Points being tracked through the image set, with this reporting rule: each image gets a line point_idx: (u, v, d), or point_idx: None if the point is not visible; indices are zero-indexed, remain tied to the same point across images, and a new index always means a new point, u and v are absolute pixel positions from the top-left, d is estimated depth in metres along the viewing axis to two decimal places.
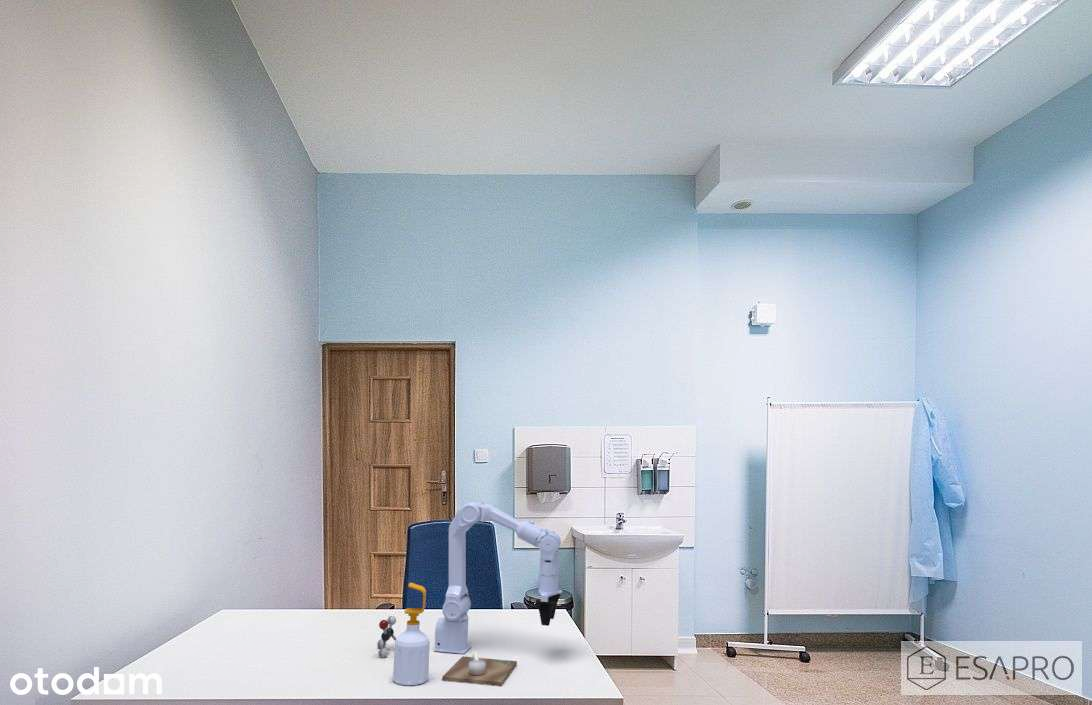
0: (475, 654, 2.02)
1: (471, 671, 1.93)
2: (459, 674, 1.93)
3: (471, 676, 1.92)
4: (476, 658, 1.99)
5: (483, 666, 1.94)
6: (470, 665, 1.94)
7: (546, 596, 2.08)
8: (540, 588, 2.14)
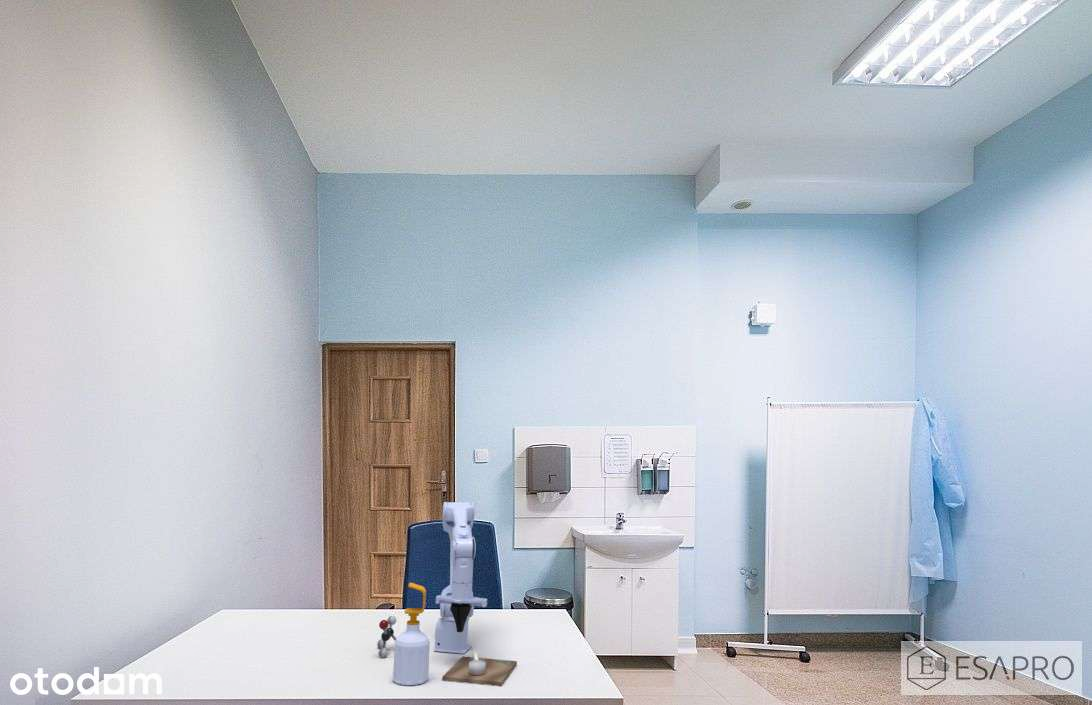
0: (475, 654, 2.02)
1: (471, 671, 1.93)
2: (459, 674, 1.93)
3: (471, 676, 1.92)
4: (476, 658, 1.99)
5: (483, 666, 1.94)
6: (470, 665, 1.94)
7: None
8: None
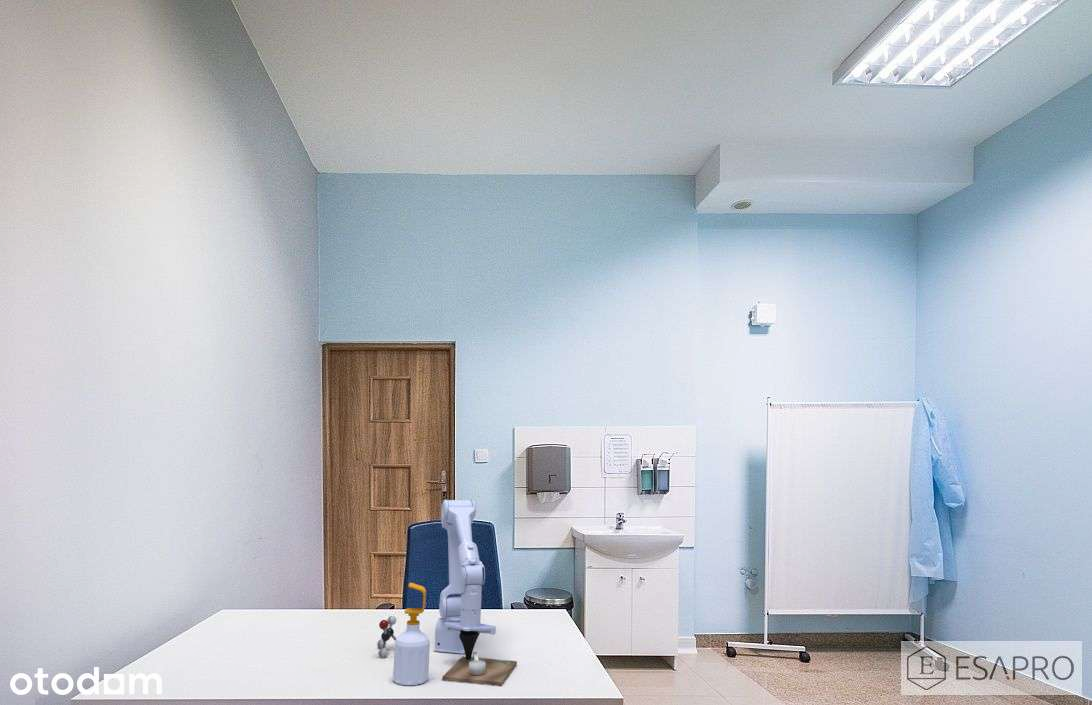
0: (475, 654, 2.02)
1: (471, 671, 1.93)
2: (459, 674, 1.93)
3: (471, 676, 1.92)
4: (476, 658, 1.99)
5: (483, 666, 1.94)
6: (470, 665, 1.94)
7: None
8: None
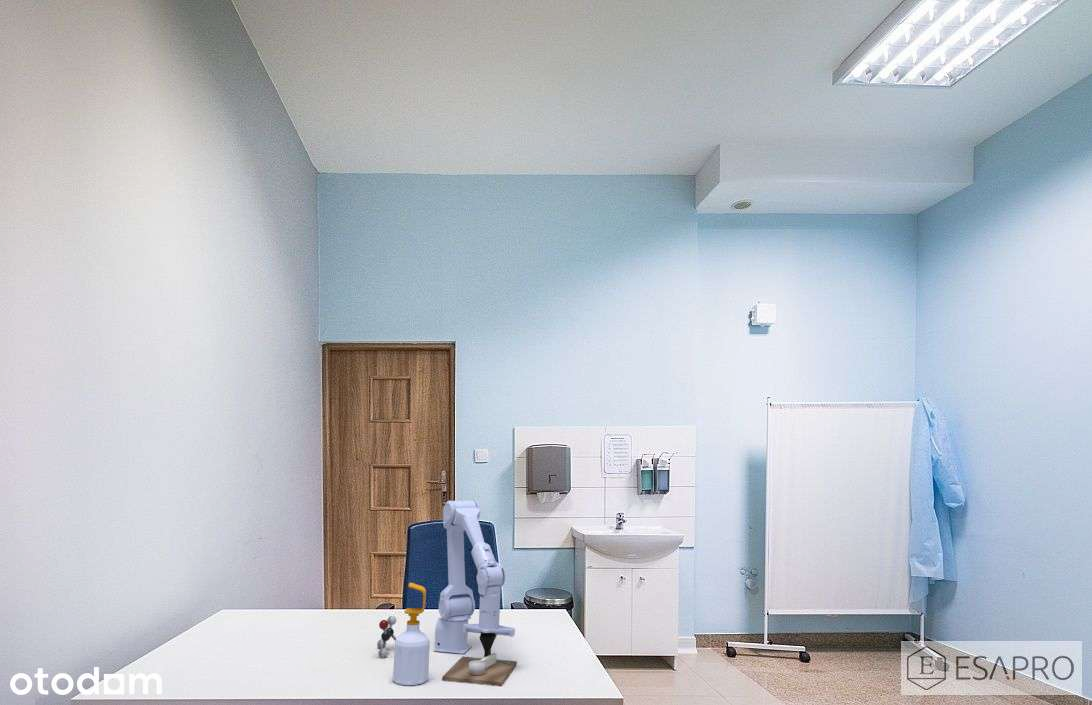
0: (490, 655, 2.02)
1: (469, 670, 1.94)
2: (459, 674, 1.93)
3: (471, 676, 1.92)
4: (484, 659, 1.98)
5: (479, 667, 1.93)
6: (469, 664, 1.95)
7: None
8: None
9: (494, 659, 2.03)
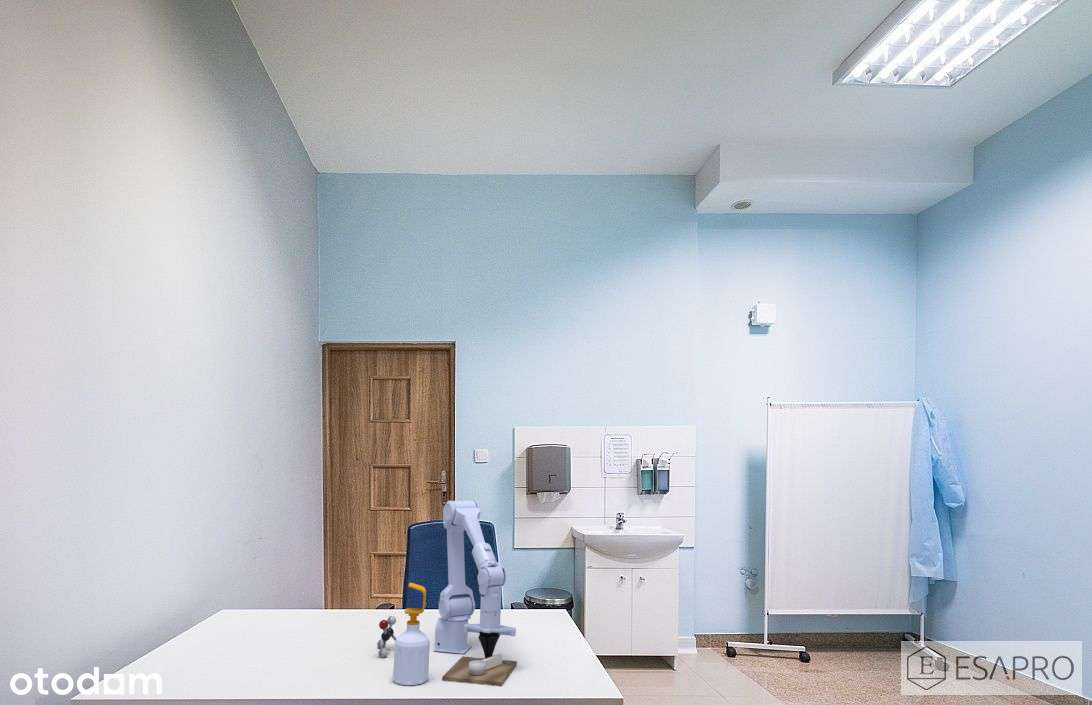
0: (494, 656, 2.01)
1: None
2: (459, 674, 1.93)
3: (471, 676, 1.92)
4: (486, 659, 1.98)
5: (477, 667, 1.93)
6: None
7: None
8: None
9: (499, 660, 2.02)
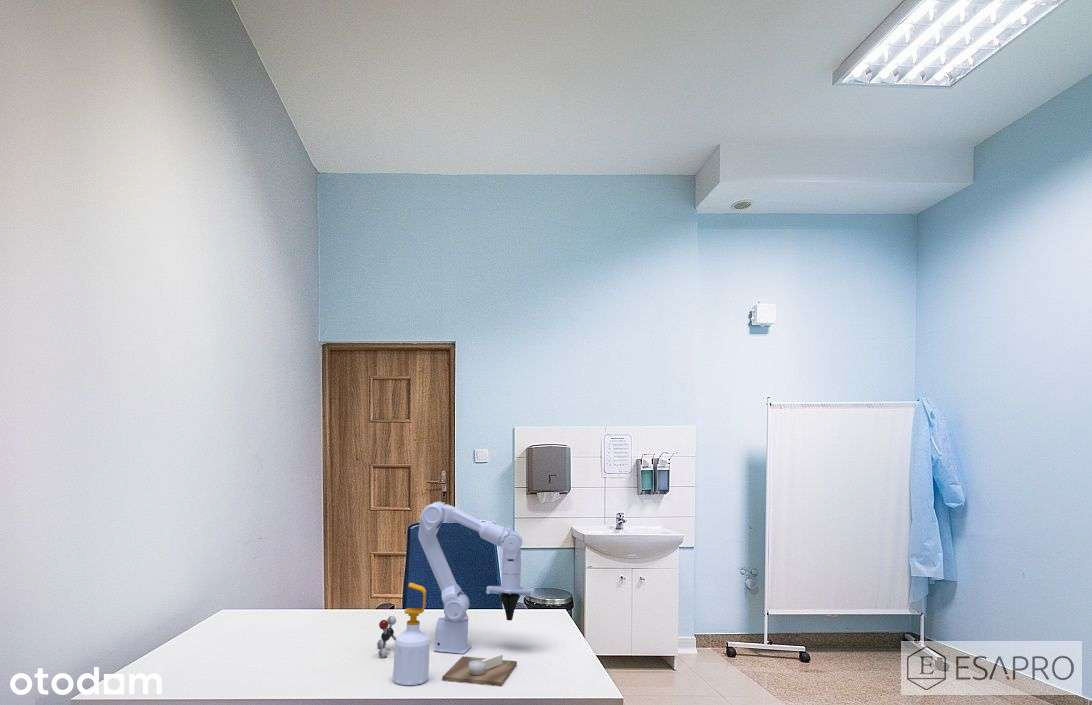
0: (494, 656, 2.01)
1: None
2: (459, 674, 1.93)
3: (471, 676, 1.92)
4: (486, 659, 1.98)
5: (477, 667, 1.93)
6: None
7: None
8: None
9: (499, 660, 2.02)
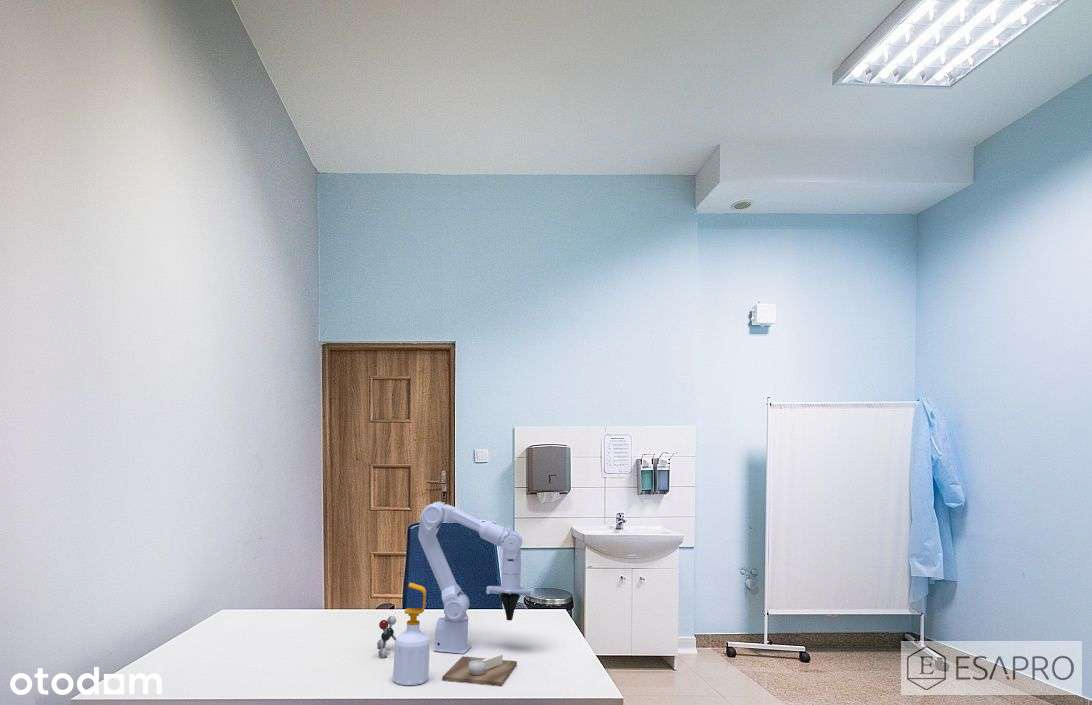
0: (494, 656, 2.01)
1: None
2: (459, 674, 1.93)
3: (471, 676, 1.92)
4: (486, 659, 1.98)
5: (477, 667, 1.93)
6: None
7: None
8: None
9: (499, 660, 2.02)
